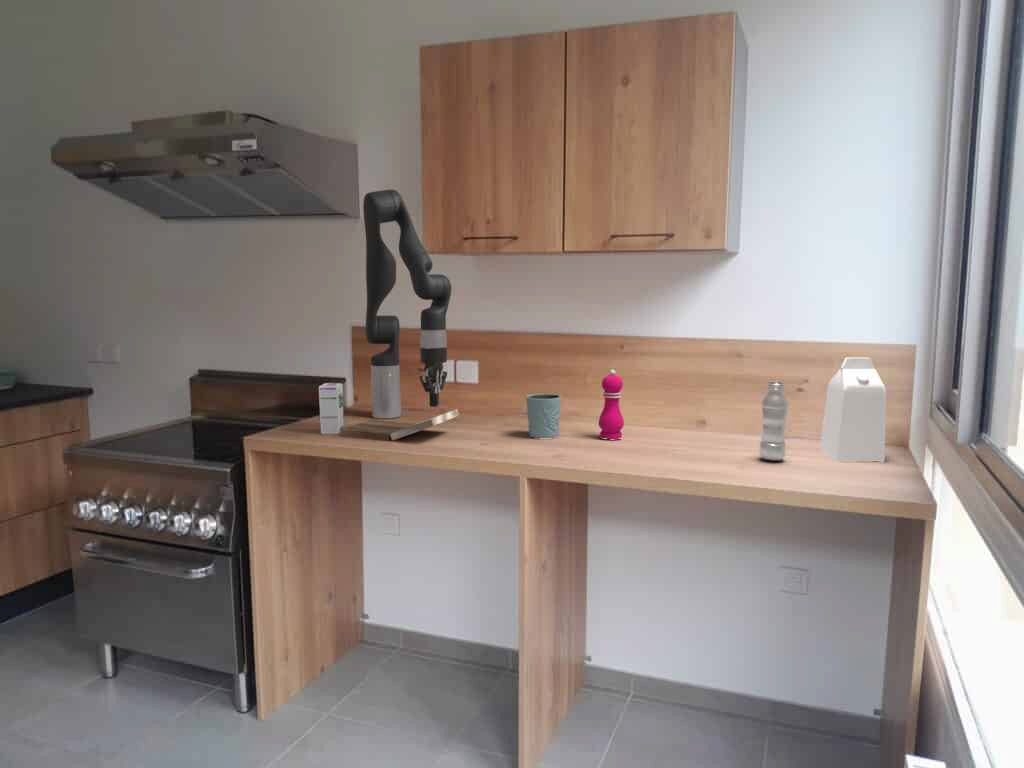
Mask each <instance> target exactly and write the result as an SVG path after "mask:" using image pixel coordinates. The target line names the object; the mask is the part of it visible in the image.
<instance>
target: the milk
mask: <svg viewBox="0 0 1024 768" xmlns="http://www.w3.org/2000/svg"><path fill="white" fill-rule="evenodd" d="M824 405H825V407H824V414H823V415H824V416H823V423H822V428H821V430H822V431H821V439H820V443H819V444H820V446H819V451H820V450H821V451H823V452H824V453H826V454H828V455H829V456H831V457H832V458H834V459H836V460H880V461H884V460H885V458H886V456H885V453H886V450H885V449H886V422H887V421H886V419H887V417H886V412H887V410H886V409H887V407H886V406H887V390H886V387H885V385H884V383H883V381H882V379H881V377H880V375H879V373H878V371H877V370H876V368H875V365H874V362H873V361H872V358H871V357H845V358H844V360H843V362H842V364H841V366H840V368H839V370H838V371H837V372H836V373H834V375H833V376H832V378H831V379H830V381H829V382H828V386H827V390H826V400H825V404H824Z"/></svg>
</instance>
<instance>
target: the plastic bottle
mask: <svg viewBox="0 0 1024 768" xmlns="http://www.w3.org/2000/svg"><path fill="white" fill-rule="evenodd" d="M784 387H785V385H784V382H781V381H769V382H768V387H767V390H768V392H767V393H766V394H765V396H764V398H762V402H761V407H762V408H761V409H762V410H761V411H762V432H761V439H760V440H761V441H760V442H759V447H758V452H759V456H760V458H761V459H762V460H767V461H769V460H770V462H775V461H778V462H779V461H782V460H783V459H784V458H785V456H786V453H787V447H786V446H787V445H786V442H785V441H786V440H785V439H786V437H785V429H786V422H787V421H786V419H787V414H788V409H789V406H790V405H789V400H788V399H787V397H786V396H785V394H784V392H783V391H784V390H785V388H784Z"/></svg>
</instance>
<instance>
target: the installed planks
mask: <svg viewBox="0 0 1024 768" xmlns="http://www.w3.org/2000/svg"><path fill="white" fill-rule="evenodd" d="M414 424H417V422H411V421H410V422H408V421H397V420H388V419H387V420H386V419H376V418H375V419H373V418H372V419H368V420H365V421H362V422H359V423H356V424H353V425H350V426H348V427H344V429H341V430H340V431H341V433H340V437H342V438H343V437H345V438H355V439H365V440H369V439H370V440H375V441H388V442H389V441H392V438H391V436H390V434H391V433H394V432H396V431H399V430H401V429H404V428H407V427H409V426H412V425H414Z"/></svg>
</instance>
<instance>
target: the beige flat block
mask: <svg viewBox="0 0 1024 768" xmlns="http://www.w3.org/2000/svg"><path fill="white" fill-rule="evenodd" d="M459 416H460V413H459V411H458V408H456V409H452V410H450V411H447V412H445V413H443V414H440V415H436V416H435V417H431V418H428V419H426V420H423V421H420V422H418V423H417V422H416V423H417V424H414V425H412V426H409V427H407V428H404V429H401V430H399V431H396V432H394V433H391V434H390V436H391V438H392V440H391V441H395V440H397V439H400V438H404V437H406V436H409V435H412V434H414V433H418V432H421V431H423V430H426V429H429V428H431V427H434V426H437V425H438V424H442V423H444V422H446V421H449V420H452V419H453V418H456V417H459Z"/></svg>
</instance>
